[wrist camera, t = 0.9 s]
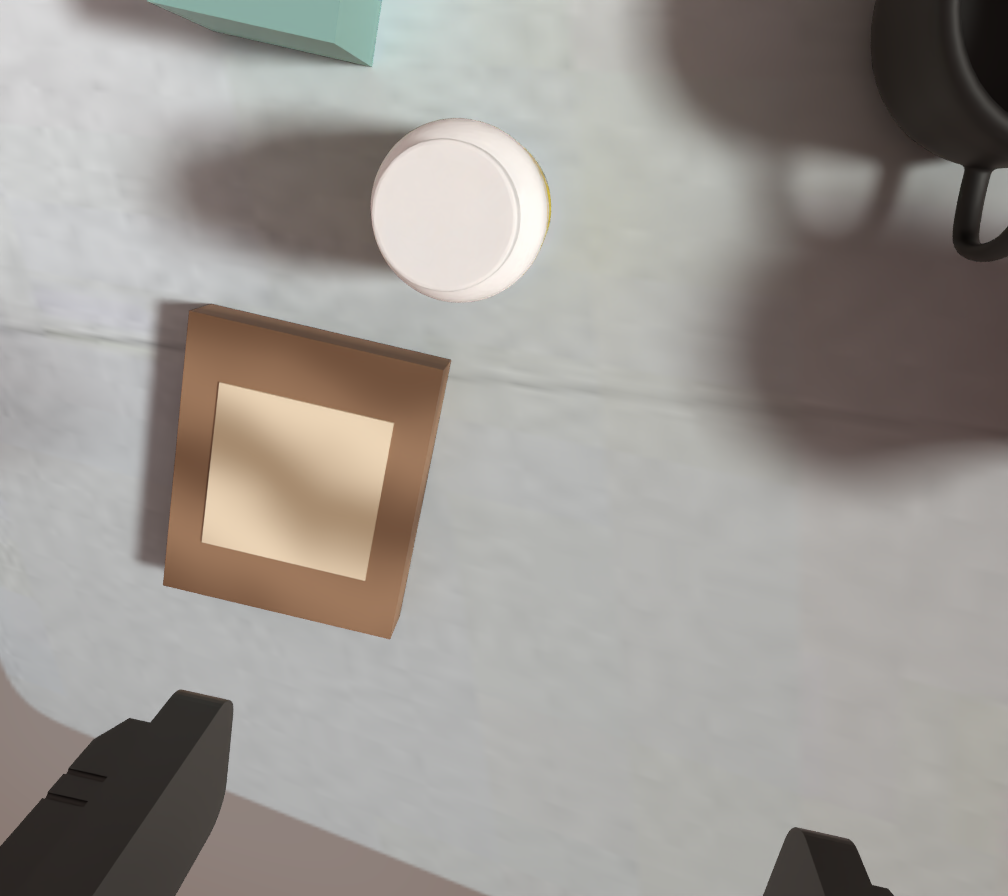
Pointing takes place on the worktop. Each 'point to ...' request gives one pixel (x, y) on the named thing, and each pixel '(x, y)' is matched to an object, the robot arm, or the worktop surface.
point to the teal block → (291, 23)
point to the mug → (950, 94)
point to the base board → (300, 468)
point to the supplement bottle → (459, 209)
